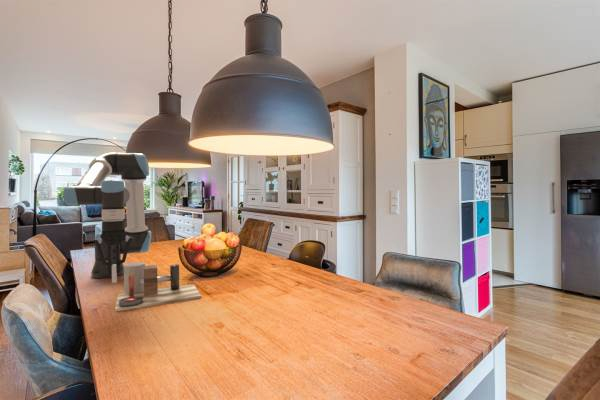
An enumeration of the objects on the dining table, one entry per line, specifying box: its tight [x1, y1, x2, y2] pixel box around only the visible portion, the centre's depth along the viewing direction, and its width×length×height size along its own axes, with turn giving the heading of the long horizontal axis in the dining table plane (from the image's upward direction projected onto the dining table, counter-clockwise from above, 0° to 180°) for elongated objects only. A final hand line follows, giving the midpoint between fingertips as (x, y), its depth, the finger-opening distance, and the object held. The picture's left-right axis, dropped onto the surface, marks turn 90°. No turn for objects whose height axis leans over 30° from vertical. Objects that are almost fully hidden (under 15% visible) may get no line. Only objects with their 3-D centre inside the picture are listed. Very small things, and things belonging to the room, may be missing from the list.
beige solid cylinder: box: [123, 261, 146, 294], centre depth 133 cm, size 8×8×12 cm
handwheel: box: [119, 275, 143, 307], centre depth 116 cm, size 10×8×9 cm
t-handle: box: [140, 264, 180, 290], centre depth 130 cm, size 4×15×10 cm, turn 118°
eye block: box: [114, 264, 202, 312], centre depth 125 cm, size 18×30×12 cm, turn 118°
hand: (114, 281), depth 116 cm, fingers closed
